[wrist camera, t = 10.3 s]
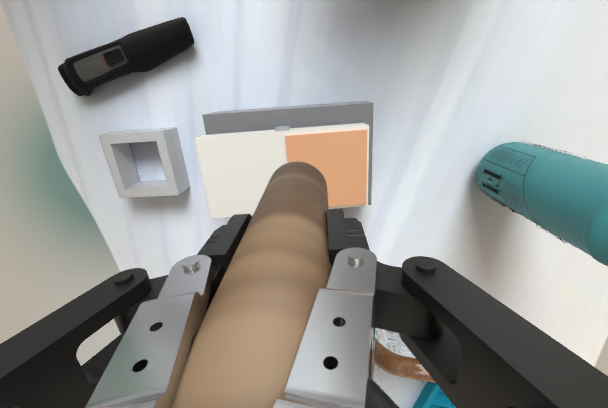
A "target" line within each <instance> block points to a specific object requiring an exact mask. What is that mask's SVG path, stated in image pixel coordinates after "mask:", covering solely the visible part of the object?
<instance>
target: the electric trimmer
mask: <svg viewBox="0 0 608 408" xmlns="http://www.w3.org/2000/svg"><path fill="white" fill-rule="evenodd" d="M193 44H194V39H193V36H192V33H191V30H190V27H189V25H188V23H187V20H186V19H185V18H183V17H181V18H177V19H174V20H170V21H167V22H164V23H161V24H158V25H155V26H152V27H149V28H146V29H142V30H139V31H136V32H134V33H131V34H128V35H126V36H124V37H123V38H121V39H118V40H116V41H114V42H111V43H109V44H106V45H103V46H100V47H97V48H95V49H92V50H89V51H86V52H84V53H81V54H78V55H76V56H73V57H70V58H67V59H66V60H65V62H64V64H61V65H60V66H59V67H58V70H59V72H60V74H61V76H62V78H63V80H64V81H65V83H66V84H67V86H68V87H69V88H70V89H71V90H72V91H73V92H74V93H75V94H77V95H78V96H83V95H85V96H89V95H91V93H90V92H91V90H92V89H94V88H96V87H98V86H100V85H102V84H104V83H106V82H109V81H111V80H113V79H115V78H118V77H121V76H124V75H127V74H130V73H133V72H147V71H150V70H151V69H153V68H155V67H157V66H159V65H160V64H162V63H164V62H166V61H167V60H169V59H171V58H172V57H174V56H176V55H177V54H179V53H181V52H183V51H184V50H186V49H188V48H189V47H191V46H192V45H193Z"/></svg>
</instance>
